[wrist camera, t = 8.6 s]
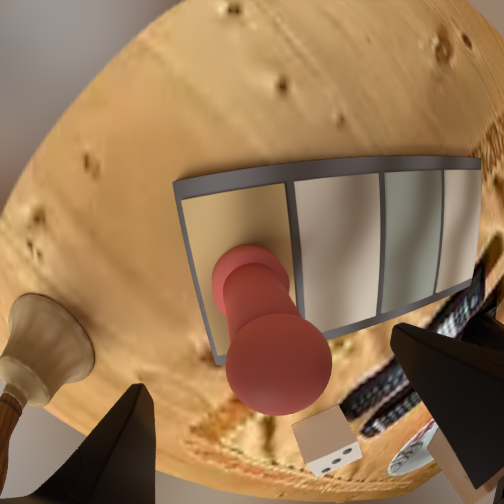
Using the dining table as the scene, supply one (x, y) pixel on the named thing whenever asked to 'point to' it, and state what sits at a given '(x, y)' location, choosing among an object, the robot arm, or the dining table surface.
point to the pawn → (268, 334)
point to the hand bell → (38, 361)
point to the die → (326, 441)
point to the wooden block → (459, 471)
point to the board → (339, 234)
